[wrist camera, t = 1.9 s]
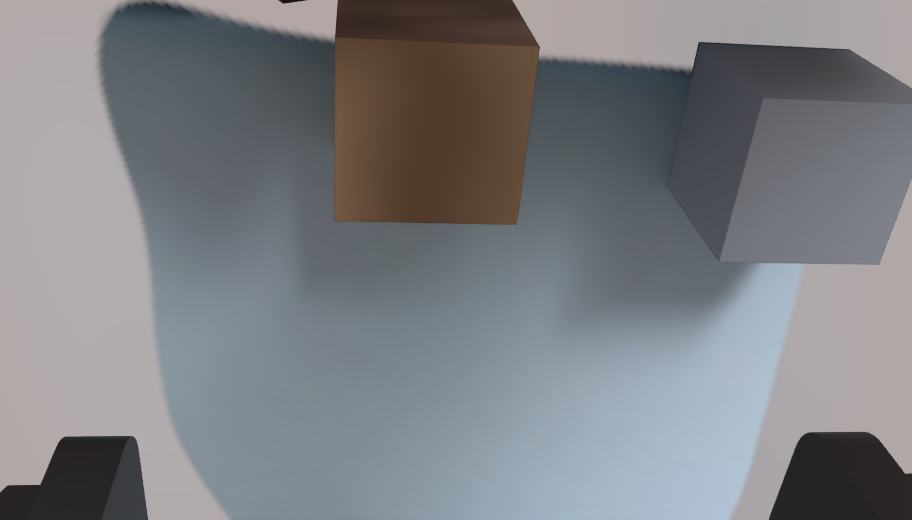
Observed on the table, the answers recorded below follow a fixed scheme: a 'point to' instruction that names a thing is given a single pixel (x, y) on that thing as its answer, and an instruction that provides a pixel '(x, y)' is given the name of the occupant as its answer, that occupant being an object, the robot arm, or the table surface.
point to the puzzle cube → (289, 0)
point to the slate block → (792, 154)
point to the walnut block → (431, 110)
